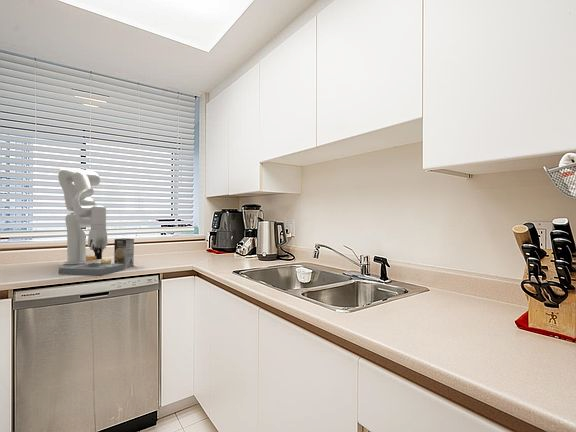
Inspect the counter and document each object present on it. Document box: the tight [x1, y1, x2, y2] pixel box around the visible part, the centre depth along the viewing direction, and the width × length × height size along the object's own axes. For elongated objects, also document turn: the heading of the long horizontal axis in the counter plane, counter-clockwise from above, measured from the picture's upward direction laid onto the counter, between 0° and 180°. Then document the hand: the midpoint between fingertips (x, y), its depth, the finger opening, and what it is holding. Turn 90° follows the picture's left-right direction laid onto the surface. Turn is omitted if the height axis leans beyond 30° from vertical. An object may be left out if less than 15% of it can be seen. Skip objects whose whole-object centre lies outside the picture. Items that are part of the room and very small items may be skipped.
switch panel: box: [58, 262, 126, 276], centre depth 164 cm, size 18×24×4 cm
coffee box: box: [113, 237, 135, 268], centre depth 184 cm, size 9×6×16 cm
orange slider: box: [86, 255, 96, 262], centre depth 172 cm, size 3×4×4 cm
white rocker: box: [85, 259, 101, 264], centre depth 164 cm, size 4×5×2 cm
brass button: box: [100, 258, 112, 264], centre depth 163 cm, size 5×5×2 cm
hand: (98, 259), depth 178 cm, fingers closed
